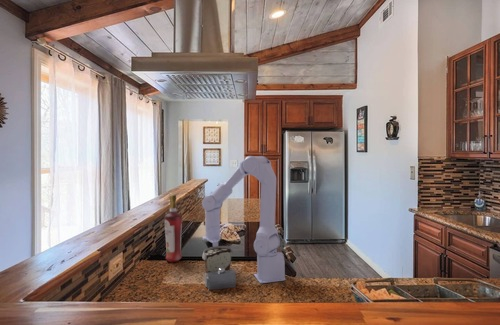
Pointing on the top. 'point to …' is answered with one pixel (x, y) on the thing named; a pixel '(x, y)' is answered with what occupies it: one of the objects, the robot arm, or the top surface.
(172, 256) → the liquor
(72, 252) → the top surface
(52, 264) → the top surface
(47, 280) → the top surface
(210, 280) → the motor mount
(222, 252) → the food container
